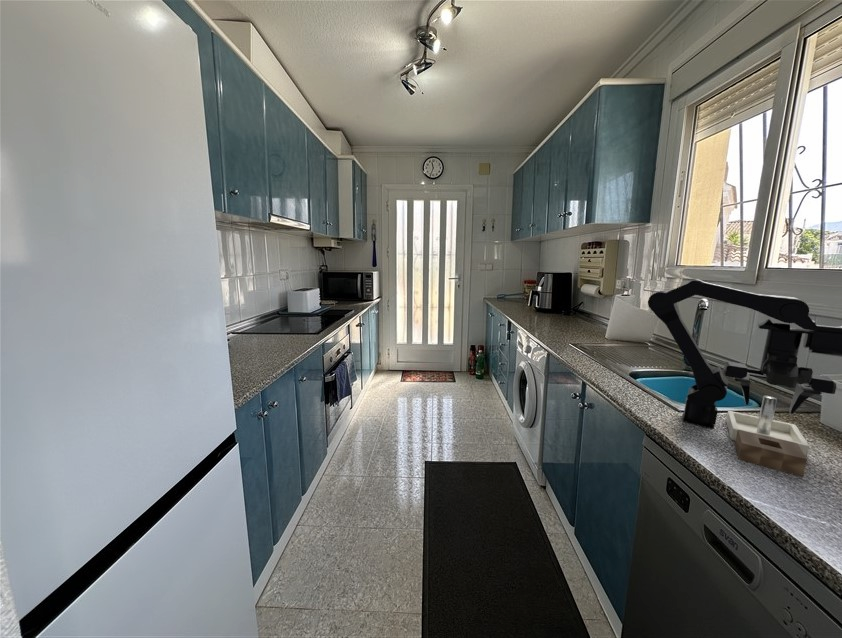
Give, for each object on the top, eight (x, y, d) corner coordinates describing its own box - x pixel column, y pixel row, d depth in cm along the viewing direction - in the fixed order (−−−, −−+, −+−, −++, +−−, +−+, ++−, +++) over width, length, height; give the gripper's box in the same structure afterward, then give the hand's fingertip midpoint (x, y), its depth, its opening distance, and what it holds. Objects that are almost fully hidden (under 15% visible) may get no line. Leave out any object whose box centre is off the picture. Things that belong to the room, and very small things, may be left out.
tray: (731, 439, 86) (733, 428, 85) (726, 420, 96) (728, 410, 96) (806, 458, 78) (809, 446, 78) (792, 435, 88) (795, 424, 88)
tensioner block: (738, 459, 78) (742, 443, 77) (734, 444, 84) (737, 429, 83) (803, 476, 72) (807, 459, 71) (793, 459, 78) (797, 443, 77)
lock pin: (756, 434, 87) (764, 397, 85) (755, 431, 89) (762, 394, 87) (770, 437, 85) (778, 400, 84) (768, 434, 87) (775, 397, 86)
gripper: (733, 349, 82) (722, 409, 85) (853, 364, 71) (835, 433, 74) (728, 340, 91) (718, 395, 94) (834, 353, 80) (819, 415, 83)
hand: (768, 408), depth 86 cm, fingers open, 8 cm apart
